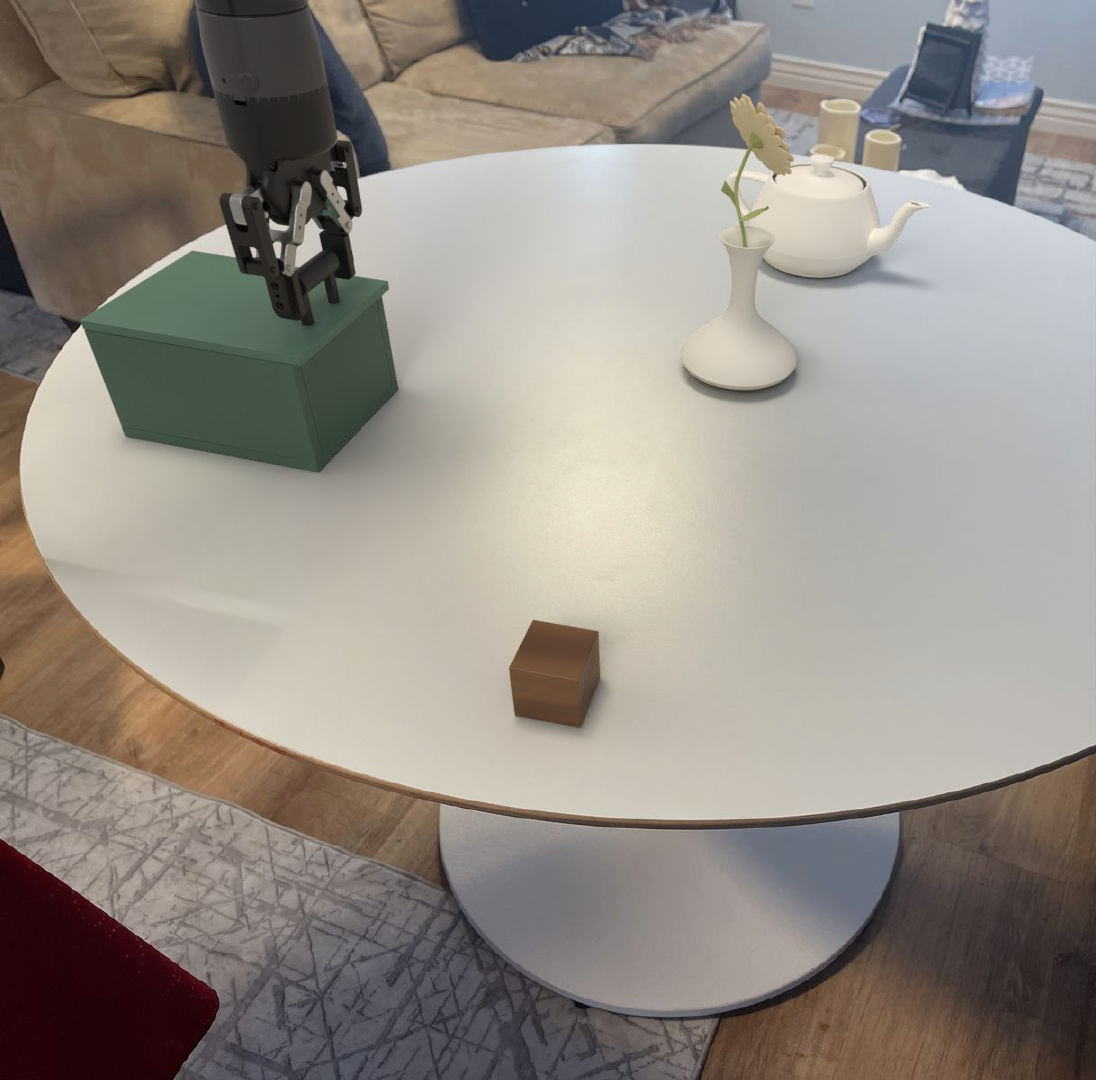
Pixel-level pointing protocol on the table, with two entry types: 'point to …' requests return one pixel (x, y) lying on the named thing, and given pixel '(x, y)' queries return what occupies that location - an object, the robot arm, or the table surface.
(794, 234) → the teapot
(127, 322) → the lid
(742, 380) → the flower in vase
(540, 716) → the block
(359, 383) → the box
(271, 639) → the table surface
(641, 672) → the table surface
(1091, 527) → the table surface
